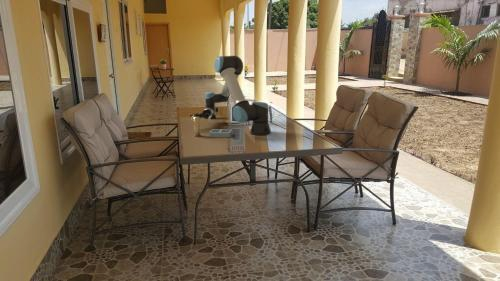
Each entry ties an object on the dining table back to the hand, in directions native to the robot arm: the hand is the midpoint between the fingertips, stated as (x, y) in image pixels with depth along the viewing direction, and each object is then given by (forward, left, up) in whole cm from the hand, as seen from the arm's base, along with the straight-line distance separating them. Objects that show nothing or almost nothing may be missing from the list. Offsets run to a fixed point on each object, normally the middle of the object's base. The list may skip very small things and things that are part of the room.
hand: (200, 119), depth 276 cm
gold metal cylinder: (0, +10, -10) cm, 14 cm away
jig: (-17, +8, -10) cm, 22 cm away
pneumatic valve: (+5, -52, -11) cm, 53 cm away
